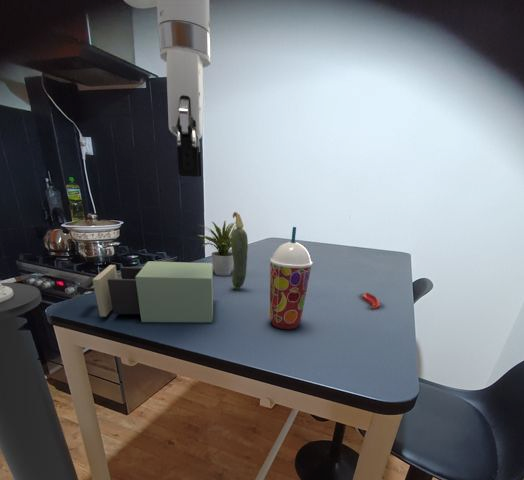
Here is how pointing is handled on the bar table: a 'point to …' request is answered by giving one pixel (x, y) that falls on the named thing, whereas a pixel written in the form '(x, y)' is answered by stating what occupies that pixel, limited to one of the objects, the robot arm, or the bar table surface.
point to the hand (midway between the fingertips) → (190, 176)
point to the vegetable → (239, 252)
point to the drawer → (114, 290)
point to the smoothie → (288, 283)
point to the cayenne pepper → (371, 300)
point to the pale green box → (175, 292)
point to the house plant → (221, 249)
